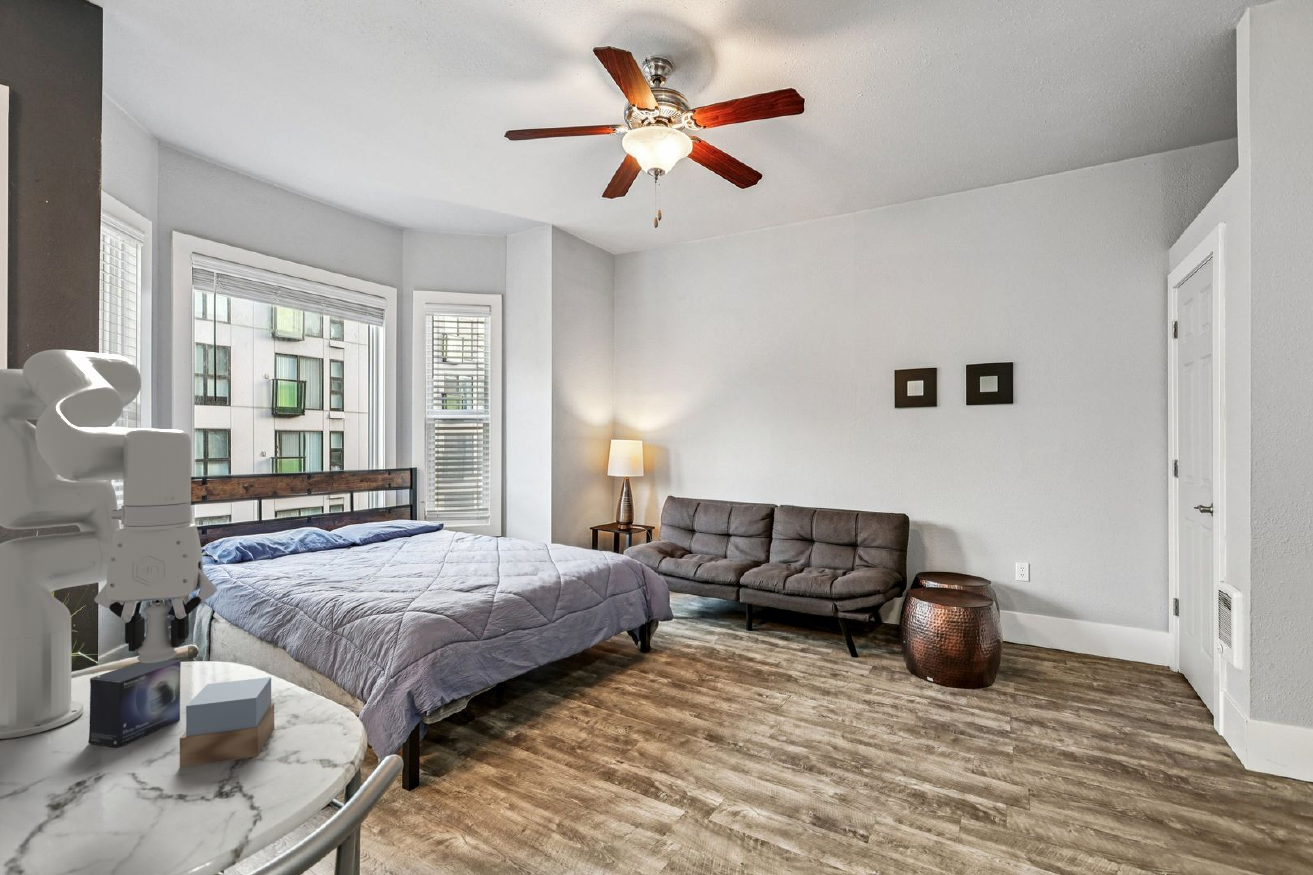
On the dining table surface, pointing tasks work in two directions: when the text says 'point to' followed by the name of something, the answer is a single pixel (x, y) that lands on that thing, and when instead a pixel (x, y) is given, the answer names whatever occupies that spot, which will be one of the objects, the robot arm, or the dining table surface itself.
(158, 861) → the dining table surface
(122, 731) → the small box
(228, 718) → the slate-blue block
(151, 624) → the rook chess piece
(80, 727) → the dining table surface
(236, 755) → the walnut block
